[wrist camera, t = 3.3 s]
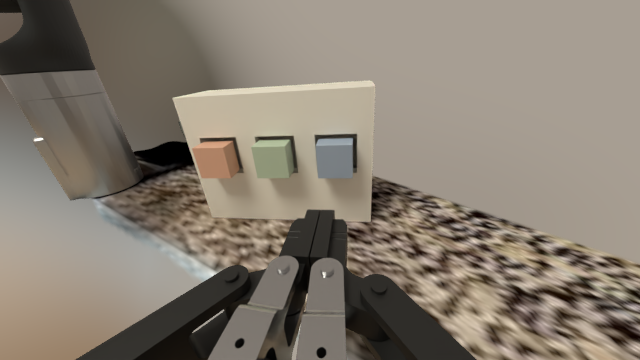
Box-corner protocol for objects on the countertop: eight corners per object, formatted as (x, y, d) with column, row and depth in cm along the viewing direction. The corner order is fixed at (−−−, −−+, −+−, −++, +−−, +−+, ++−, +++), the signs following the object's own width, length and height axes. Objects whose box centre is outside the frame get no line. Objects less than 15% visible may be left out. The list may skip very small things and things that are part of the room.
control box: (370, 222, 26) (375, 86, 20) (212, 217, 29) (172, 98, 23) (368, 194, 31) (371, 80, 25) (234, 193, 34) (207, 90, 28)
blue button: (352, 178, 22) (352, 144, 20) (318, 178, 22) (315, 145, 21) (352, 169, 23) (352, 138, 22) (320, 169, 24) (318, 138, 22)
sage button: (289, 178, 22) (284, 146, 21) (257, 178, 23) (251, 147, 22) (294, 169, 24) (290, 139, 23) (264, 169, 25) (259, 140, 23)
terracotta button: (231, 178, 23) (222, 147, 22) (201, 178, 24) (192, 148, 22) (239, 169, 25) (232, 141, 24) (212, 170, 26) (203, 141, 24)
